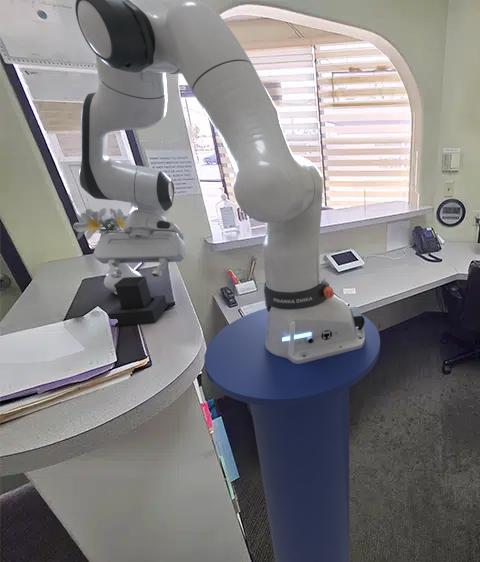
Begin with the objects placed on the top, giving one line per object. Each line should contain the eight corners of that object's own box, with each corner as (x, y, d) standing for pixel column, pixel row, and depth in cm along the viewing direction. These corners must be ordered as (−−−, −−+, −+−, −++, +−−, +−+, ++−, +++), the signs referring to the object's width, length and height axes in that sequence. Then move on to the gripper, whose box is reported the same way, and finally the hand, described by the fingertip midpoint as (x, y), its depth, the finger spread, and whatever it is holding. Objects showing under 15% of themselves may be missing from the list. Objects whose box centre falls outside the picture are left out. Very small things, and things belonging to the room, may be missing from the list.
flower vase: (150, 277, 105) (131, 202, 96) (151, 296, 91) (129, 211, 82) (101, 284, 98) (74, 204, 89) (94, 307, 84) (61, 215, 75)
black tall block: (155, 310, 83) (145, 276, 80) (147, 319, 79) (137, 283, 75) (133, 312, 82) (123, 277, 78) (125, 321, 78) (113, 285, 74)
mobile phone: (103, 274, 103) (119, 260, 116) (104, 277, 104) (120, 263, 116) (130, 272, 106) (143, 259, 119) (131, 275, 106) (144, 261, 119)
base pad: (167, 306, 86) (164, 294, 85) (155, 322, 78) (151, 310, 76) (128, 309, 84) (124, 297, 82) (111, 326, 75) (106, 314, 74)
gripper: (94, 224, 80) (80, 272, 75) (181, 223, 83) (173, 269, 78) (109, 236, 85) (98, 282, 80) (190, 235, 89) (184, 279, 84)
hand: (136, 276), depth 79 cm, fingers open, 8 cm apart
